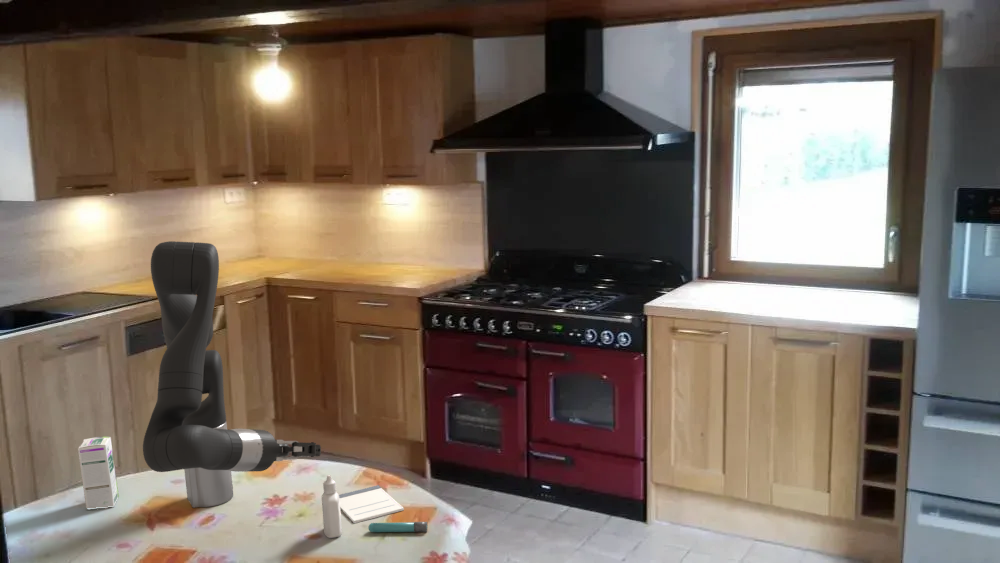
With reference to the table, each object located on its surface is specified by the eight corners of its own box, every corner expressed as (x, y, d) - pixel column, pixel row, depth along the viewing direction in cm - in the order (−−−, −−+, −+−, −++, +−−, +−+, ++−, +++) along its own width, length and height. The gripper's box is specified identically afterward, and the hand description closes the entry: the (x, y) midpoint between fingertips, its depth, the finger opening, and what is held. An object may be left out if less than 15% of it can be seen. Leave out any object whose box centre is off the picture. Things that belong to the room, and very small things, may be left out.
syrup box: (114, 507, 192) (107, 443, 190) (85, 511, 191) (77, 447, 188) (119, 497, 198) (111, 435, 195) (90, 500, 196) (82, 438, 194)
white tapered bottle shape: (348, 526, 179) (344, 470, 177) (338, 539, 174) (334, 481, 172) (327, 525, 180) (323, 469, 178) (317, 538, 174) (312, 480, 172)
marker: (367, 533, 176) (367, 524, 175) (369, 530, 177) (369, 520, 177) (426, 533, 175) (426, 524, 175) (428, 529, 177) (427, 520, 177)
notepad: (354, 523, 181) (354, 520, 180) (331, 499, 193) (330, 496, 192) (403, 510, 186) (403, 507, 186) (378, 487, 198) (378, 485, 198)
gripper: (277, 426, 157) (331, 430, 172) (215, 431, 163) (272, 434, 178) (276, 470, 156) (331, 469, 170) (213, 472, 162) (271, 472, 176)
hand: (301, 451), depth 174 cm, fingers open, 8 cm apart
